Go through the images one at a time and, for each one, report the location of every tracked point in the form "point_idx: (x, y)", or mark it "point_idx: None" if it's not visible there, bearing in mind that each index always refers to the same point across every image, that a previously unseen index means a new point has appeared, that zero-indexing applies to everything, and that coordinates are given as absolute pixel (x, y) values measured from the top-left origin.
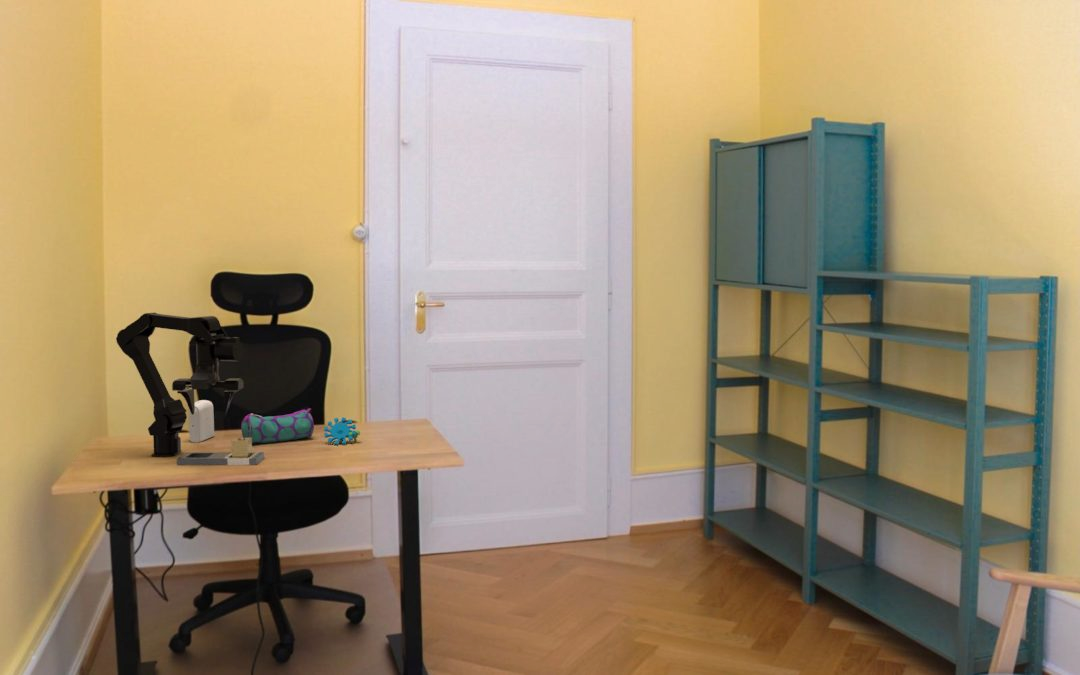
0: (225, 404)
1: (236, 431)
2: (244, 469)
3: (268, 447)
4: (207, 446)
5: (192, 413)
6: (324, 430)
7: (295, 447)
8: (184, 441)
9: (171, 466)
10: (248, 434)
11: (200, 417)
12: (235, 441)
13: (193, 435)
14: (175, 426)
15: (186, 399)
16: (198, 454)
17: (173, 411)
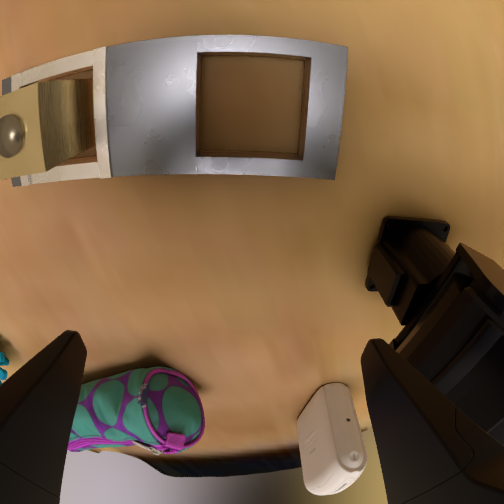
0: (13, 390)
1: (258, 443)
2: (38, 6)
3: (96, 330)
4: (291, 351)
5: (376, 343)
6: (4, 371)
7: (36, 321)
8: (360, 386)
9: (352, 29)
10: (164, 388)
11: (330, 445)
12: (23, 87)
13: (341, 397)
14: (432, 304)
15: (481, 439)
16: (273, 157)
17: (485, 355)
